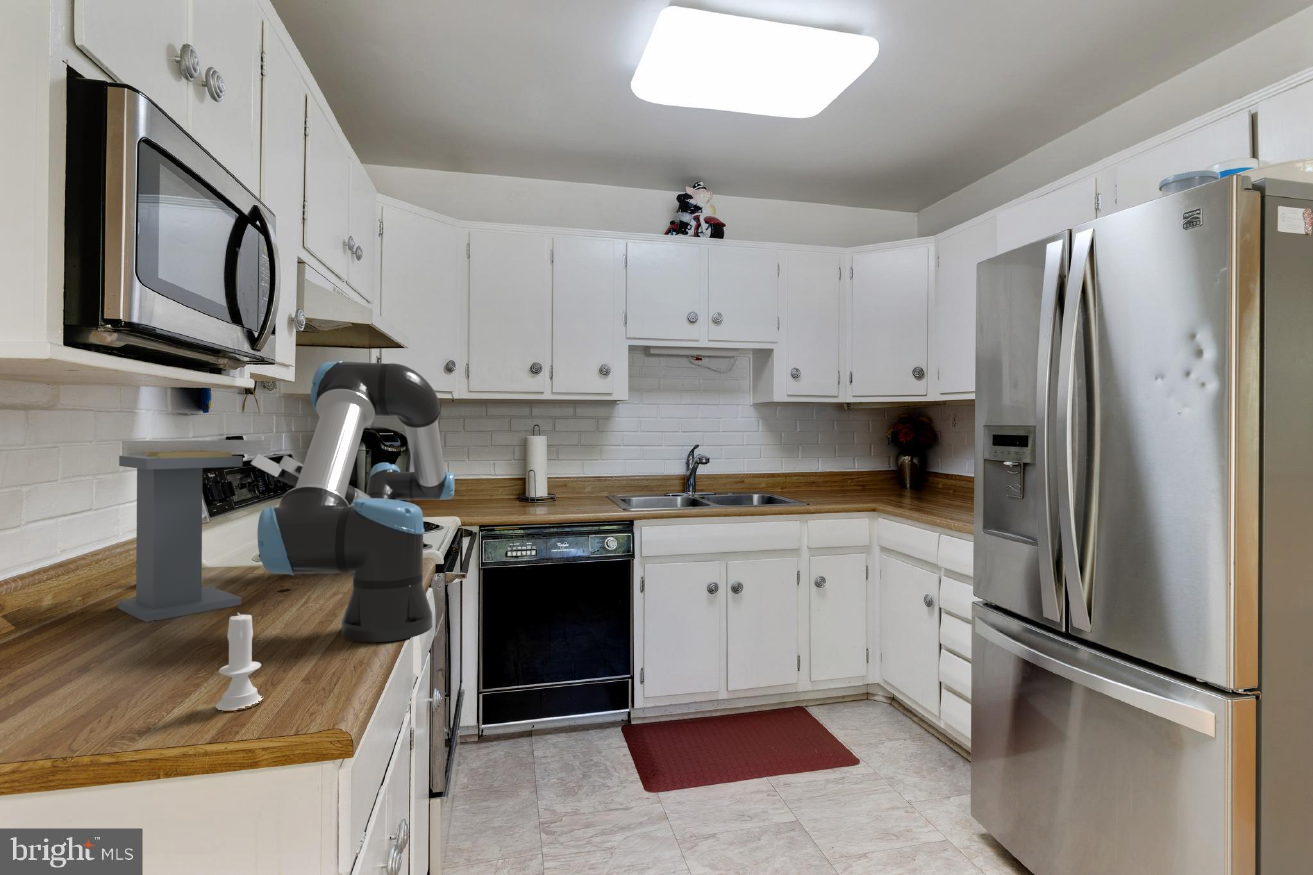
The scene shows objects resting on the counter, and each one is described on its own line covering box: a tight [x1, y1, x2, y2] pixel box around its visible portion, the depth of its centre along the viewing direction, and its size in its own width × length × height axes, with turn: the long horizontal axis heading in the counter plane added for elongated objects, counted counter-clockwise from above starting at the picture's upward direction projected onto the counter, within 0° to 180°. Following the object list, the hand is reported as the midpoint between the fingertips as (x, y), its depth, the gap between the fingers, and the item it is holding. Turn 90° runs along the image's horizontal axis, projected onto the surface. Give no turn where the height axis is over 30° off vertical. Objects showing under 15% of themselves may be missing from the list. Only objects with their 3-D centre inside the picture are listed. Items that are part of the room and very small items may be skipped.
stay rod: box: [121, 439, 271, 457], centre depth 139 cm, size 26×3×3 cm, turn 144°
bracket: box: [146, 451, 233, 458], centre depth 130 cm, size 12×7×1 cm, turn 144°
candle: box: [215, 612, 264, 711], centre depth 87 cm, size 5×5×12 cm
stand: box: [117, 455, 243, 623], centre depth 133 cm, size 16×15×30 cm
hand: (267, 459), depth 150 cm, fingers open, 13 cm apart
